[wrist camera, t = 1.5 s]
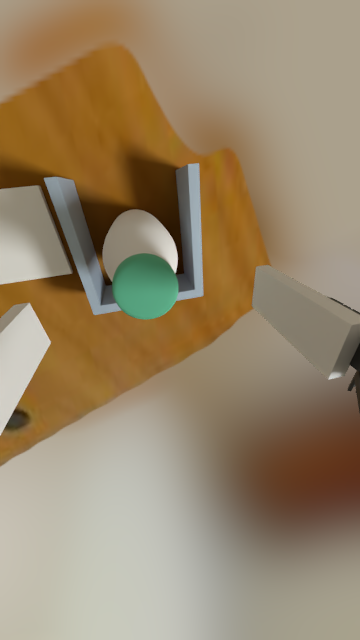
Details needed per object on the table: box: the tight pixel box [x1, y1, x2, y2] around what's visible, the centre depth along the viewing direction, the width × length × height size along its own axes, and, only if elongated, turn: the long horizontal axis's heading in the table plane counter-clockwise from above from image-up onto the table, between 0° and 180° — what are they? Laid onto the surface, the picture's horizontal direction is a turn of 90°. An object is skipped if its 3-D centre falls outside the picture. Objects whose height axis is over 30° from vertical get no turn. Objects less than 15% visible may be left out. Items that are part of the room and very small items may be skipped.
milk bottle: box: [102, 209, 179, 319], centre depth 22 cm, size 8×8×20 cm
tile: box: [0, 185, 73, 284], centre depth 27 cm, size 11×11×1 cm
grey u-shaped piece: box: [44, 163, 203, 315], centre depth 28 cm, size 15×15×7 cm
